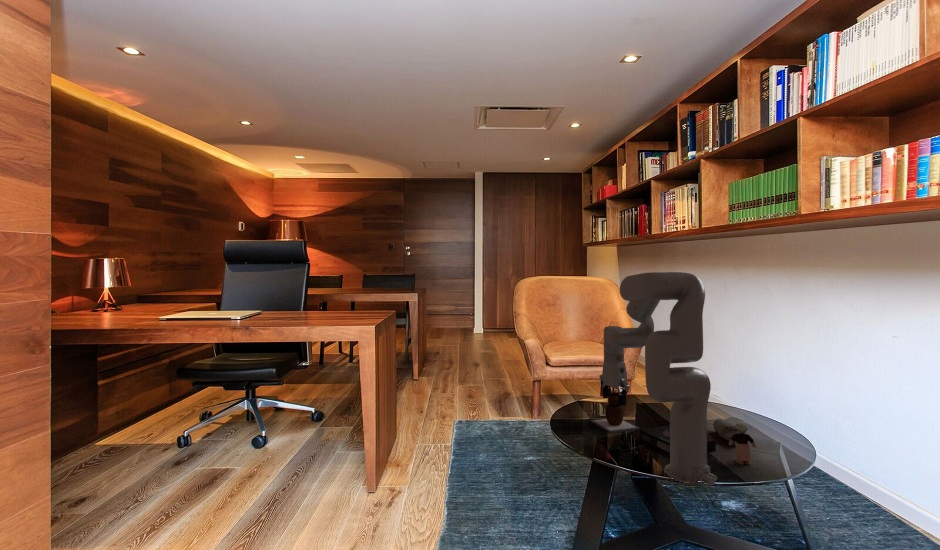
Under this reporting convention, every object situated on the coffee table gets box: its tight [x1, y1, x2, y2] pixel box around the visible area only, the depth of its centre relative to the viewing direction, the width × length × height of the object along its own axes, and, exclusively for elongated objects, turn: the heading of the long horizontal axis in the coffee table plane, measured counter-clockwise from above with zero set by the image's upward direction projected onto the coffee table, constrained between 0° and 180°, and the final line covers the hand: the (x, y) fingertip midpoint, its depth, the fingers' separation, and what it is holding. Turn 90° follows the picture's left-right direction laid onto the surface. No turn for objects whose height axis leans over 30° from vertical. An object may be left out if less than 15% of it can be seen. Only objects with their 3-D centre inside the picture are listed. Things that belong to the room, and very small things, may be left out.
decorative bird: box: [712, 418, 739, 449], centre depth 147 cm, size 5×16×8 cm, turn 172°
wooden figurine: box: [604, 386, 625, 425], centre depth 162 cm, size 7×6×15 cm
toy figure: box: [728, 421, 757, 466], centre depth 129 cm, size 8×4×13 cm, turn 92°
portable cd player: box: [638, 424, 717, 456], centre depth 143 cm, size 16×17×4 cm
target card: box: [589, 417, 641, 434], centre depth 162 cm, size 13×13×1 cm
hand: (614, 401), depth 162 cm, fingers open, 9 cm apart
